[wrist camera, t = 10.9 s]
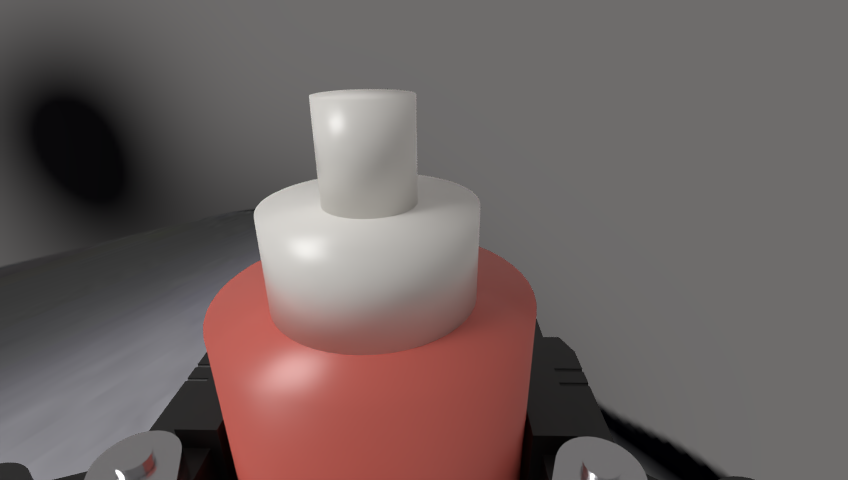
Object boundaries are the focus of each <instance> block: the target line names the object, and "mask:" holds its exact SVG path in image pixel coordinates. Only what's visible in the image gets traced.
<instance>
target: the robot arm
mask: <svg viewBox="0 0 848 480" xmlns="http://www.w3.org/2000/svg"><path fill="white" fill-rule="evenodd" d="M0 480H33V478H32V476H31V474H30V472H29V470H28V468H26V467H25V466H24V465H22V464H18V463H1V464H0ZM54 480H238V477H237V473H236V469H235V465H234V461H233V457H232V453H231V449H230V444H229V440H228V436H227V432H226V428H225V424H224V420H223V415H222V411H221V407H220V403H219V399H218V395H217V391H216V386H215V382H214V378H213V374H212V370H211V366H210V362H209V358H208V353H206V354H205V355H204V357H203V358H202V359H201V361H200V362H199V363H198V367H196V368H195V369H194V370H193V372H192V373H191V374H190V376H189V377H188V381H185V383H184V384H183V385H182V387H181V388H180V389H179V391H178V392H177V393H176V395H175V396H174V397H173V399H172V400H171V402H170V403H169V404H168V406H167V407H166V408H165V410H164V411H163V412H162V414H161V415H160V417H159V418H158V419H157V421H156V422H155V423H154V425H153V426H152V427H151V429H150V430H149V431H147V432H142V433H139V434H135V435H133V436H130V437H128V438H126V439H124V440H122V441H120V442H118V443H116V444H115V445H113V446H112V447H110V448H109V449H107V450H106V451H105V452H104V453H103V454H101V455H100V456H99V457H98V458H97V459H96V460H95V462H94V463H93V464H92V465H91V467H90V468H89V470H88V471H87V472H83V473H79V474H75V475H71V476H67V477H63V478H59V479H54ZM519 480H658V479H655V478H653V477H651V476H649V475H647V474H646V473H645V471H644V470H643V468H642V466H641V465H640V463H639V462H638V461H637V460H636V459H635V458H634V457H633V456H632V455H631V454H630V453H629V452H628V451H626V450H625V449H624V448H622V447H620V446H619V445H617V444H615V443H614V441H613V438H612V436H611V434H610V432H609V429H608V427H607V425H606V422H605V420H604V418H603V416H602V413H601V411H600V409H599V406H598V404H597V402H596V400H595V397H594V395H593V393H592V391H591V388H590V387H589V386H588V382H587V379H586V377H585V375H584V373H583V372H582V368H581V366H580V363H579V361H578V359H577V356H576V354H575V352H574V351H573V350H572V349H571V348H570V347H569V346H568V345H567V344H565V343H564V342H563V341H562V340H561V339H560V338H558V337H543V336H542V333H541V330H540V327H539V325H538V322H537V319H536V324H535V334H534V343H533V353H532V363H531V373H530V382H529V392H528V402H527V411H526V421H525V431H524V440H523V450H522V460H521V469H520V479H519ZM719 480H753V479H750V478H744V477H735V476H732V477H725V478H722V479H719Z"/></svg>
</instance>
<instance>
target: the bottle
mask: <svg viewBox="0 0 848 480" xmlns="http://www.w3.org/2000/svg"><path fill="white" fill-rule="evenodd" d="M309 100H310V109H311V119H312V128H313V138H314V147H315V156H316V166H317V176H318V179H315V180H311V181H307V182H303V183H299V184H296V185H293V186H290V187H287V188H285V189H282V190H280V191H278V192H276V193H273V194H272V195H270V196H268V197H267V198H265V199H264V200H263V201H261V202H260V203H259V205H258V206H257V207H256V209H255V211H254V221H255V227H256V233H257V239H258V245H259V251H260V257H261V260H260V261H258V262H256V263H255V264H253V265H251V266H250V267H248V268H246V269H245V270H243V271H242V272H240V273H239V274H238V275H236V276H235V277H234V278H233V279H231V280H230V281H229V282H228V283H227V284H226V285H225V286H224V287H223V288H222V289H221V290H220V291H219V292H218V294H217V295H216V296H215V298H214V299H213V300H212V302H211V304H210V306H209V308H208V310H207V312H206V315H205V320H204V324H203V333H204V341H205V345H206V349H207V353H208V358H209V362H210V366H211V370H212V374H213V378H214V382H215V386H216V391H217V395H218V399H219V403H220V407H221V411H222V415H223V420H224V424H225V428H226V432H227V436H228V440H229V444H230V449H231V453H232V457H233V461H234V465H235V469H236V473H237V477H238V480H519V479H520V469H521V460H522V450H523V440H524V431H525V421H526V411H527V402H528V392H529V382H530V373H531V363H532V353H533V343H534V334H535V324H536V300H535V296H534V292H533V290H532V288H531V286H530V284H529V282H528V281H527V280H526V279H525V277H524V276H523V275H522V274H521V272H519V271H518V270H517V269H516V268H515V267H514V266H513V265H512V264H510V263H509V262H507V261H506V260H504V259H503V258H501V257H499V256H498V255H496V254H494V253H492V252H490V251H488V250H486V249H483V248H481V247H479V224H480V201H479V199H478V197H477V196H476V195H475V194H474V193H473V192H472V191H471V190H469V189H467V188H465V187H464V186H462V185H459V184H457V183H454V182H451V181H448V180H444V179H440V178H436V177H430V176H424V175H417V126H416V93H415V92H411V91H405V90H392V89H356V90H355V89H354V90H338V91H327V92H320V93H315V94H311V95H310V96H309Z"/></svg>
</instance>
